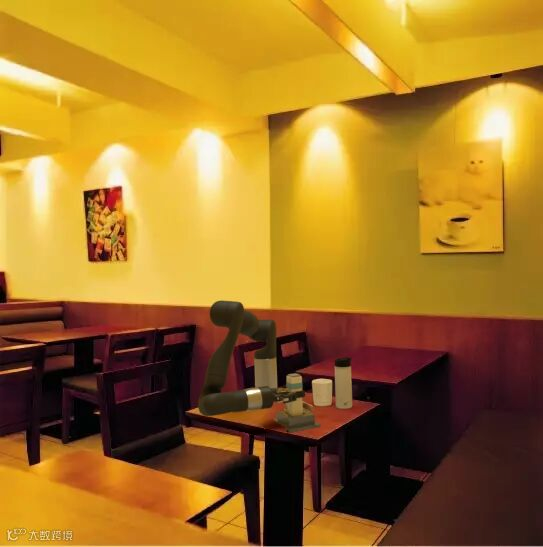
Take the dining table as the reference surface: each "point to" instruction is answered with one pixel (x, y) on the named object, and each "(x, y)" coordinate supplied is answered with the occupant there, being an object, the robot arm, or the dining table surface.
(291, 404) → the plug
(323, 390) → the white cup
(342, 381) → the travel mug
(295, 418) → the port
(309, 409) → the wooden square tray
